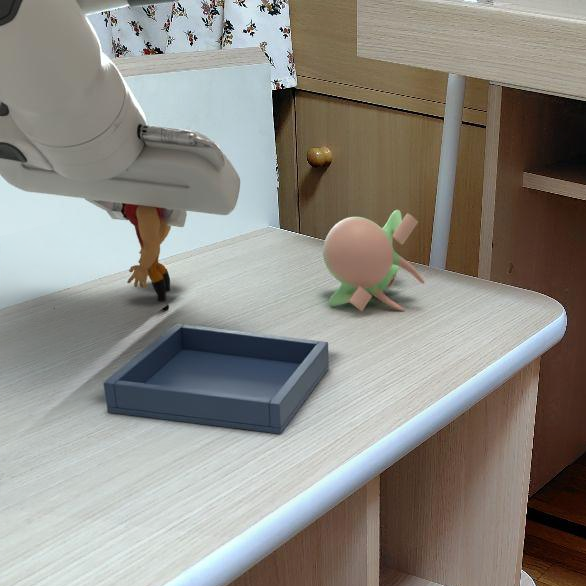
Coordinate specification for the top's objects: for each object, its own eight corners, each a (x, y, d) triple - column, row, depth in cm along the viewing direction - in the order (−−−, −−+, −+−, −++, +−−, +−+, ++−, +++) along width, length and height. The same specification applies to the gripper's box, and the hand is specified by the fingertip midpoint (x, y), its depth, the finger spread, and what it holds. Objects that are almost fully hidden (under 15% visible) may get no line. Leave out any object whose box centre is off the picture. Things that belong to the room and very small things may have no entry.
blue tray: (107, 412, 76) (102, 382, 75) (178, 350, 88) (175, 323, 86) (280, 434, 76) (279, 404, 74) (328, 368, 87) (328, 341, 86)
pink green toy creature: (453, 251, 101) (422, 237, 108) (379, 186, 95) (351, 176, 102) (383, 346, 101) (356, 326, 109) (305, 287, 95) (283, 270, 103)
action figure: (145, 289, 100) (124, 132, 92) (182, 290, 101) (164, 134, 93) (129, 321, 92) (104, 153, 84) (169, 322, 93) (148, 155, 85)
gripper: (219, 102, 80) (265, 199, 93) (-28, 73, 80) (53, 174, 94) (203, 171, 78) (252, 260, 92) (-49, 141, 79) (37, 233, 92)
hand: (150, 216), depth 93 cm, fingers closed on action figure, 4 cm apart
